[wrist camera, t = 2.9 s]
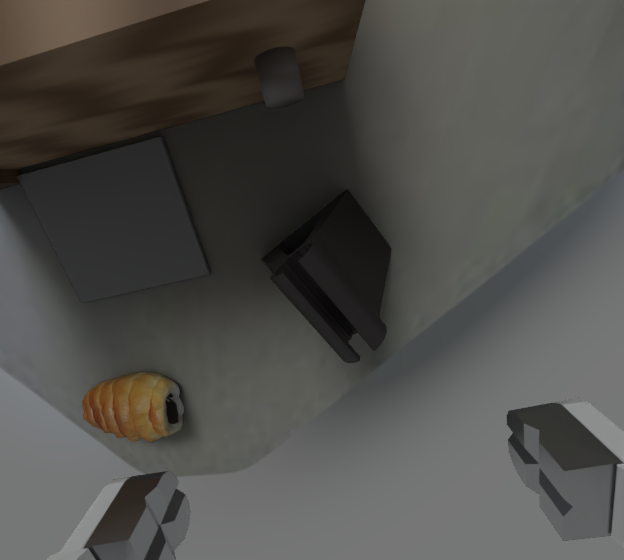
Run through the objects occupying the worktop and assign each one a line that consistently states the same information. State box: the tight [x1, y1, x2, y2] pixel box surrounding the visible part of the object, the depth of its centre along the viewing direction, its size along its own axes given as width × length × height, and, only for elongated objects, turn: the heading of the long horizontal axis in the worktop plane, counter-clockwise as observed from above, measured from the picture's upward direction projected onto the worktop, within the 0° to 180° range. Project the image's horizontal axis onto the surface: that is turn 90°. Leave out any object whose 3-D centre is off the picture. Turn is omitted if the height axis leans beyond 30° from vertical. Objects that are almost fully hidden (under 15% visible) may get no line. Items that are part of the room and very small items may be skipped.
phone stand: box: [261, 189, 391, 363], centre depth 21 cm, size 9×6×12 cm, turn 129°
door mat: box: [17, 137, 211, 303], centre depth 26 cm, size 12×11×1 cm
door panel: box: [0, 0, 365, 189], centre depth 16 cm, size 29×5×16 cm, turn 103°
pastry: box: [82, 372, 184, 442], centre depth 30 cm, size 9×7×4 cm
